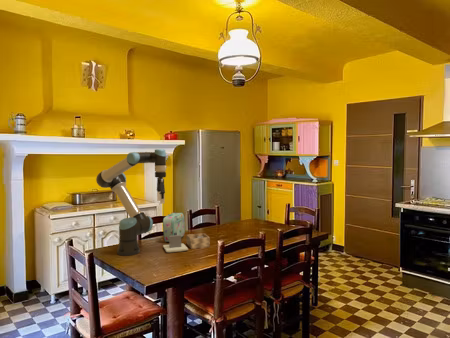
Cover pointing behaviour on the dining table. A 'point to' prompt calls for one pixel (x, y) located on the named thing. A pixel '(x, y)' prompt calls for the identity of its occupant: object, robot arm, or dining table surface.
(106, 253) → the dining table surface
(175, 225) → the lunch box
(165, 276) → the dining table surface
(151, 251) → the dining table surface
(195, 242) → the crate
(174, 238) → the lid
